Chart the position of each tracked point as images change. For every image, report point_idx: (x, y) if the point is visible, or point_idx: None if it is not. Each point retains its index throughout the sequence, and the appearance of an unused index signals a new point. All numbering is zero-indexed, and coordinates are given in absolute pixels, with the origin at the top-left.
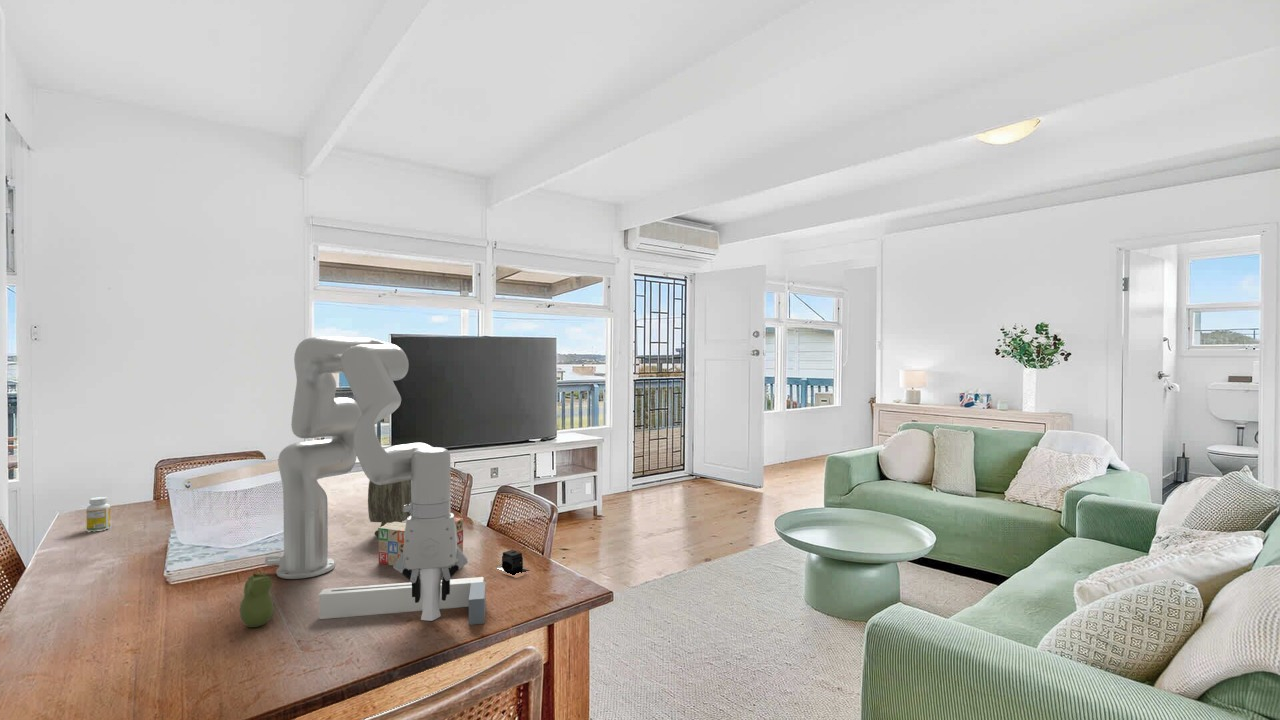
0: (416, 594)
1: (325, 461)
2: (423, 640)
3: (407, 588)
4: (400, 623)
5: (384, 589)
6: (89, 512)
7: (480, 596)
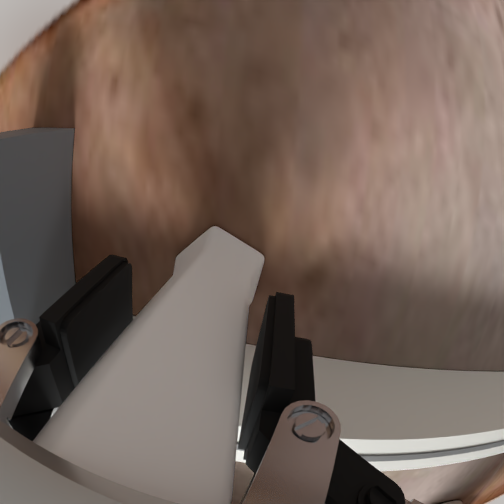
0: (283, 323)
1: None
2: (267, 30)
3: None
4: (354, 261)
5: (408, 440)
6: None
7: None
